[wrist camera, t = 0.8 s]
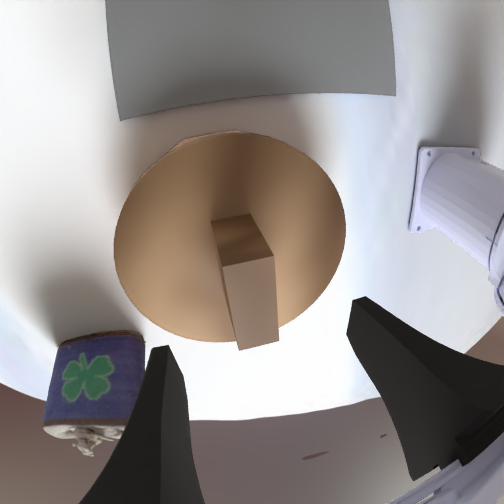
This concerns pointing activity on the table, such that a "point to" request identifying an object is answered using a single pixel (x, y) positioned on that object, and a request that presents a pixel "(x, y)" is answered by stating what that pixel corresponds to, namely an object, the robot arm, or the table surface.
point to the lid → (229, 238)
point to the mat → (245, 50)
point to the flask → (94, 387)
